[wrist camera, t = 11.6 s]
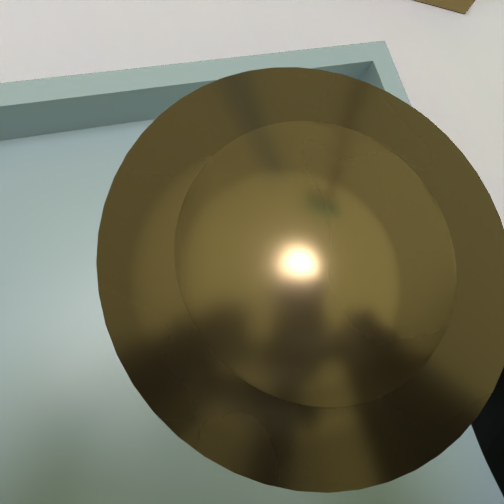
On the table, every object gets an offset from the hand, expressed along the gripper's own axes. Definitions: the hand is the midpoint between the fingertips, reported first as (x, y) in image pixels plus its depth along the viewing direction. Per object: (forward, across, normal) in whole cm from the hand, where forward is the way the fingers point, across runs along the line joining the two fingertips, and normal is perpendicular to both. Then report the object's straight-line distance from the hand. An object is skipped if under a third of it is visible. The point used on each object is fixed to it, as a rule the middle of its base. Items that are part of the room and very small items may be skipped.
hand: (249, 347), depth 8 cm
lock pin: (+7, 0, +6) cm, 9 cm away
